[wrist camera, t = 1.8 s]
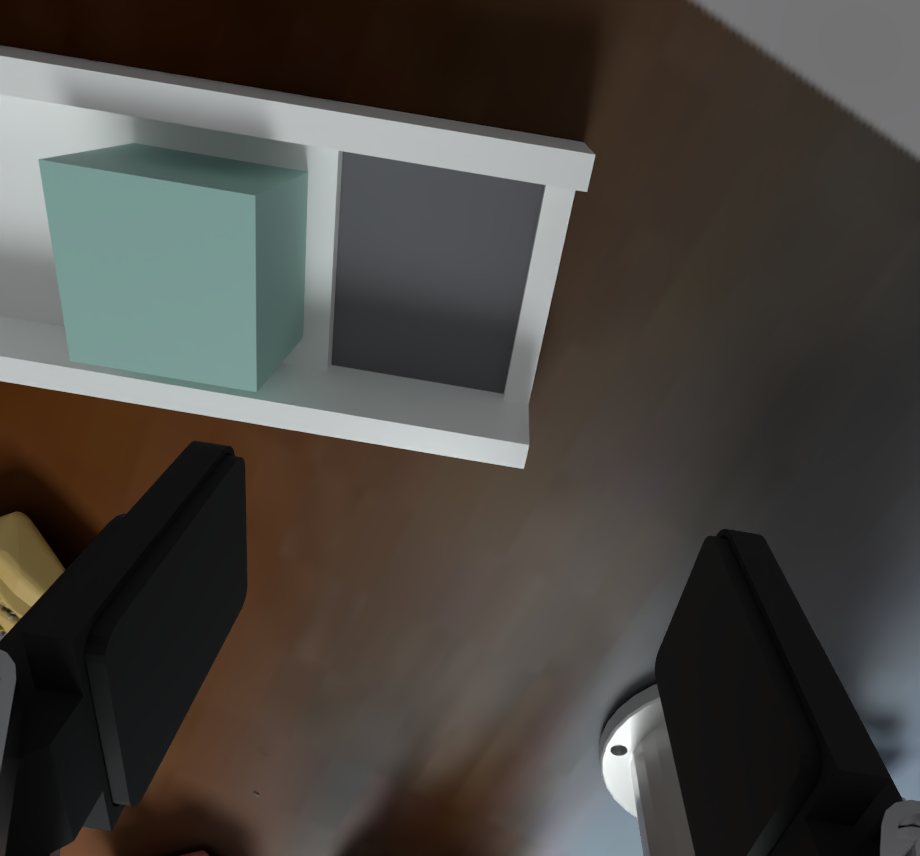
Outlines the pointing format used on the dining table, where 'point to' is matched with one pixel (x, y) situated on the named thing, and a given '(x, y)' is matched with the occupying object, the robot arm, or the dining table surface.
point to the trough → (318, 252)
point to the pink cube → (197, 853)
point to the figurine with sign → (24, 569)
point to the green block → (178, 261)
